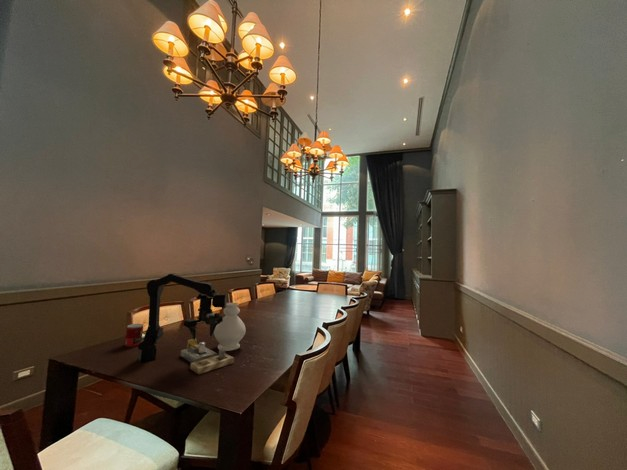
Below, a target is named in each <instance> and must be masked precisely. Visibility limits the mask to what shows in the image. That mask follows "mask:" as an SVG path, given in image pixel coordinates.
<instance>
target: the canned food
mask: <svg viewBox="0 0 627 470" xmlns="http://www.w3.org/2000/svg"><path fill="white" fill-rule="evenodd" d="M143 331H144V323H143V324H142V323H131V324H127V326H126V334H125V340H124V341H125V342H124V345H125V347H126V348H135V347H138V345H139V344H140V343H141V342H142V341H143V333H144V332H143Z"/></svg>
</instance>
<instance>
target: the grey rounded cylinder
mask: <svg viewBox="0 0 627 470" xmlns="http://www.w3.org/2000/svg"><path fill="white" fill-rule="evenodd" d="M198 345H199V350H198V355H202V354H204V353H205V347H206V342H205V341H200V342H199V343H198Z"/></svg>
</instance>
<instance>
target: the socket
mask: <svg viewBox="0 0 627 470" xmlns="http://www.w3.org/2000/svg"><path fill="white" fill-rule="evenodd" d="M214 356H218V353H217V352H216V351H214V350H212V349H209V348H208V347H206V346H205V353H204V354H202V355H198V351H196V348H194V347H192V346H190V348H186V349H181V350H180V357H182V358H183V359H185V360H186V361H188V362H190V364H191V363H194V362H197V361H200V360H204V359H207V358H211V357H214Z"/></svg>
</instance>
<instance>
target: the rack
mask: <svg viewBox="0 0 627 470" xmlns="http://www.w3.org/2000/svg"><path fill="white" fill-rule="evenodd" d="M234 360H235V357H233V355H232V356H231V355H229V354H228V353H226V351H225V350H219V349H218V354H217V356H214V357H211V358H207V359H204V360H200V361H197V362H194V363H191V362H190V370H191V371H193V372H195V374H198V375H201V374H204V373H208V372H209V371H213V370H216V369H219V368H222V367H226V366H229V365H231V364H233V363H234V362H235V361H234Z"/></svg>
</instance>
